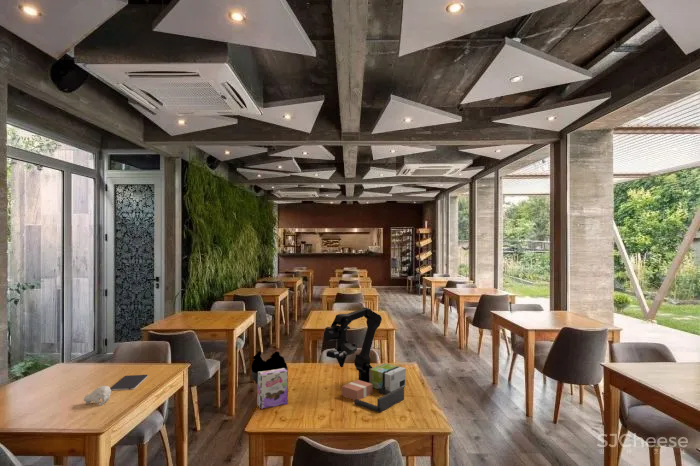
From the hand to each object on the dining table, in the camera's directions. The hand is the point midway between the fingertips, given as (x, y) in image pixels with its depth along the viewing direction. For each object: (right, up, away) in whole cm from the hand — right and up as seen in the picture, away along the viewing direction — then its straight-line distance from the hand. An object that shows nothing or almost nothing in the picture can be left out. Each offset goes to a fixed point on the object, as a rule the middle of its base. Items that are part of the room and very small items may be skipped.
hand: (341, 367), depth 214 cm
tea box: (+31, -7, -1) cm, 32 cm away
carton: (+8, -12, -7) cm, 16 cm away
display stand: (+19, -12, -16) cm, 27 cm away
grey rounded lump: (-120, -12, -20) cm, 122 cm away
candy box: (-33, -12, -21) cm, 41 cm away
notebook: (-120, -13, +9) cm, 121 cm away
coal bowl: (-40, -12, +3) cm, 42 cm away
